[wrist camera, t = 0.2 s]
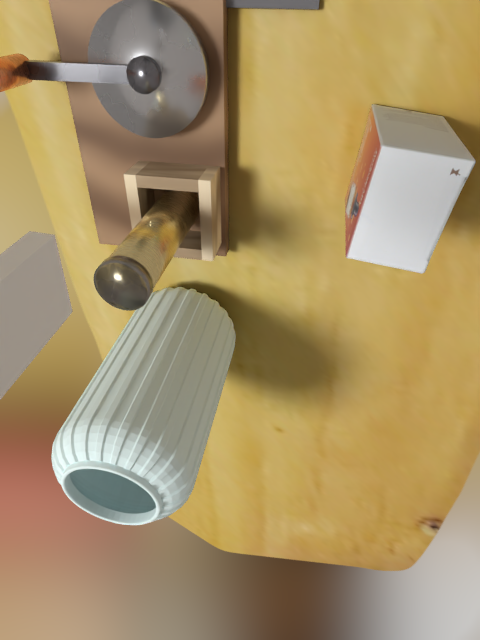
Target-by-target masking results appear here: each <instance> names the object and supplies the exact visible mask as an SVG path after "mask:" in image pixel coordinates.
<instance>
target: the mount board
mask: <svg viewBox="0 0 480 640" xmlns="http://www.w3.org/2000/svg"><path fill="white" fill-rule="evenodd" d="M120 1H122V0H49V4H50V9H51V14H52V19H53V23H54V28H55V33H56V38H57V42H58V47H59V52H60V57H61V61H64V62H88V46H89V41H90V36H91V33H92V31H93V28H94V26H95V24H96V22H97V21H98V19H99V18H100V16H101V15H102V14H103V13H104V12H105V11H106V10H107V9H108V8H109V7H111V6H112V5H114V4H116V3H118V2H120ZM160 1H162V2H165V3H167V4H169V5H170V6H172V7H174V8H175V9H177V10H178V11H179V12H180V13H182V14H183V15H184V16H185V17H186V18H187V19H188V21H189V22H190V23H191V24H192V26H193V27H194V28H195V30H196V31H197V33H198V35H199V37H200V39H201V41H202V43H203V45H204V48H205V51H206V54H207V59H208V64H209V88H208V93H207V97H206V100H205V103H204V105H203V107H202V109H201V111H200V113H199V114H198V115H197V117H196V118H195V119H194V120H193V121H192V122H191V123H190V124H189V125H188V126H187V127H186V128H184V129H183V130H182V131H180V132H178V133H176V134H174V135H172V136H169V137H164V138H148V137H143V136H140V135H137V134H135V133H132V132H130V131H129V130H127V129H125V128H124V127H123V126H121V125H120V124H118V123H117V122H116V121H115V120H114V119H113V118H112V117H111V116H110V115H109V113H108V112H107V111H106V110H105V108H104V107H103V105H102V104H101V102H100V100H99V99H98V97H97V95H96V92H95V90H94V88H93V85H92V83H90V82H69V81H66V85H67V90H68V95H69V100H70V104H71V109H72V114H73V119H74V124H75V128H76V133H77V138H78V143H79V147H80V152H81V157H82V162H83V166H84V171H85V176H86V181H87V186H88V190H89V195H90V200H91V205H92V209H93V214H94V219H95V224H96V229H97V233H98V238H99V243H100V244H110V245H120V244H121V243H122V241H123V240H124V239H125V238H126V237H127V236H128V234H129V233H130V232H131V231H132V226H131V219H130V213H129V206H128V200H127V193H126V187H125V180H124V173H126V172H127V171H128V170H129V169H130V168H131V167H132V166H134V165H135V164H136V163H137V162H138V161H153V162H166V163H180V164H194V165H208V166H220V184H221V242H222V243H221V245H220V247H219V249H218V251H217V254H216V255H218V256H226V255H227V252H228V250H229V177H228V7H226V0H160ZM165 191H166V190H164V189H154V198H155V203H156V202H157V200H158V199H159V198H160V197H161V196H162V195H163V193H164V192H165ZM196 193H197V194H198V196H199V192H196ZM190 230H192V231H201V229H200V214H199V216H198V217H197V219H196V220H195V222H194V224H193V225H192V227H191V228H190Z"/></svg>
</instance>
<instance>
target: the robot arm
mask: <svg viewBox="0 0 480 640" xmlns="http://www.w3.org/2000/svg"><path fill="white" fill-rule="evenodd" d="M71 313H72V308H71V303H70V299H69V294H68V290H67V286H66V282H65V278H64V273H63V269H62V265H61V260H60V256H59V252H58V248H57V243H56V239H55V235H51V234H45V233H38V232H31V231H30V232H28V233H27V234H26V235H24V236H23V237H22V238H21V239H20V240H18V241H17V242H16V243H14V244H13V245H12V246H10V247H9V248H8V249H7V250H5V251H4V252H3V253H2V254H0V399H1V398H2V397H3V396H4V394H5V393H6V392H7V391H8V390H9V388H10V387H11V386H12V385H13V383H14V382H15V381H16V380H17V379H18V377H19V376H20V375H21V374H22V373H23V371H24V370H25V369H26V368H27V366H28V365H29V364H30V363H31V361H32V360H33V359H34V358H35V357H36V355H37V354H38V353H39V352H40V351H41V349H42V348H43V347H44V346H45V345H46V343H47V342H48V341H49V340H50V338H51V337H52V336H53V335H54V334H55V332H56V331H57V330H58V329H59V327H60V326H61V325H62V324H63V323H64V321H65V320H66V319H67V318H68V316H69V315H70V314H71Z"/></svg>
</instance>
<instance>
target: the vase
mask: <svg viewBox="0 0 480 640" xmlns="http://www.w3.org/2000/svg"><path fill="white" fill-rule="evenodd" d="M233 328H234V325H233V322H232V320H231V319H230V317H228V313H227V311H226V310H225V309H224V308H222V307H220V306H219V303H218V302H217V301H216V300H212V299H211V298H209V297H208V295H207V294H205V293H203V294H201V293H199V292H197V291H196V290H195V289H190V290H188V289H185V288H184V287H176V288H172V287H168V288H164V289H162V290H160V291H156V292H153V293H152V294H151V296H150V298H149V299H148V301H147V302H146V304H145V305H144V306H143V307H141V308H139V309H136V310H135V312H134V314H133V315H132V317H131V318H130V320H129V322H128V323H127V325H126V326H125V328H124V329H123V331H122V333H121V334H120V336H119V337H118V339H117V340H116V342H115V344H114V345H113V347H112V348H111V350H110V352H109V353H108V355H107V356H106V358H105V359H104V361H103V363H102V364H101V366H100V368H99V369H98V370H97V372H96V374H95V375H94V377H93V379H92V380H91V382H90V383H89V385H88V386H87V388H86V389H85V391H84V393H83V394H82V396H81V397H80V399H79V400H78V402H77V404H76V405H75V407H74V408H73V410H72V412H71V413H70V415H69V416H68V418H67V420H66V421H65V423H64V424H63V426H62V428H61V429H60V430H59V432H58V434H57V436H56V438H55V440H54V443H53V448H52V465H53V469H54V471H55V475H56V477H57V480H58V482H59V483H60V484H61V485H62V489H63V490H64V492H65V494H66V495H67V496H68V497H69V499H70V500H71V501H72V502H73V503H75V504H76V505H77V506H78V507H80V508H81V509H83V510H84V511H86V512H88V513H90V514H92V515H94V516H96V517H98V518H101V519H104V520H107V521H110V522H114V523H118V524H125V525H141V524H146V523H150V522H152V521H155V520H158V519H162V518H165V517H167V516H169V515H171V514H172V513H174V512H175V511H176V510H178V509H179V508H181V507H182V506H183V504H184V503H185V502H186V501H187V500H188V498H189V495H190V494H191V492H192V490H193V488H194V484H195V481H196V478H197V474H198V471H199V467H200V464H201V461H202V457H203V454H204V450H205V447H206V444H207V440H208V437H209V433H210V430H211V427H212V423H213V420H214V416H215V413H216V410H217V406H218V403H219V399H220V396H221V393H222V389H223V386H224V382H225V379H226V376H227V372H228V369H229V366H230V362H231V359H232V355H233V352H234V348H235V340H236V333H235V330H234V329H233Z"/></svg>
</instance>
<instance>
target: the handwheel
mask: <svg viewBox="0 0 480 640" xmlns="http://www.w3.org/2000/svg"><path fill="white" fill-rule="evenodd" d="M32 80H48V81H69V82H90V83H92V85H93V88H94V90H95V92H96V95H97V97H98V99H99V100H100V102H101V104H102V105H103V107H104V108H105V110H106V111H107V112H108V113H109V115H110V116H111V117H112V118H113V119H114V120H115V121H116V122H117V123H118V124H120V125H121V126H123V127H124V128H125V129H127V130H129V131H130V132H132V133H135V134H137V135H140V136H143V137H148V138H164V137H169V136H172V135H174V134H176V133H178V132H180V131H182V130H183V129H184V128H186V127H187V126H188V125H189V124H190V123H191V122H192V121H193V120H194V119H195V118H196V117H197V115H198V114H199V113H200V111H201V109H202V107H203V105H204V103H205V100H206V97H207V93H208V88H209V64H208V59H207V54H206V51H205V48H204V45H203V43H202V41H201V39H200V37H199V35H198V33H197V31H196V30H195V28H194V27H193V26H192V24H191V23H190V22H189V21H188V19H187V18H186V17H185V16H184V15H183V14H182V13H180V12H179V11H178V10H177V9H175V8H174V7H172V6H170V5H169V4H167V3H165V2H162V1H160V0H122V1H120V2H118V3H116V4H114V5H112V6H111V7H109V8H108V9H107V10H106V11H105V12H104V13H103V14H102V15H101V16H100V18H99V19H98V21H97V22H96V24H95V26H94V28H93V31H92V33H91V36H90V41H89V46H88V62H64V61H39V60H29V59H28V58H27V57H26V56H24V55H22V54H13V55H8V56H3V57H0V92H2V91H5V90H8V89H11V88H15V87H18V86H21V85H24V84H27V83H30V82H32Z"/></svg>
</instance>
